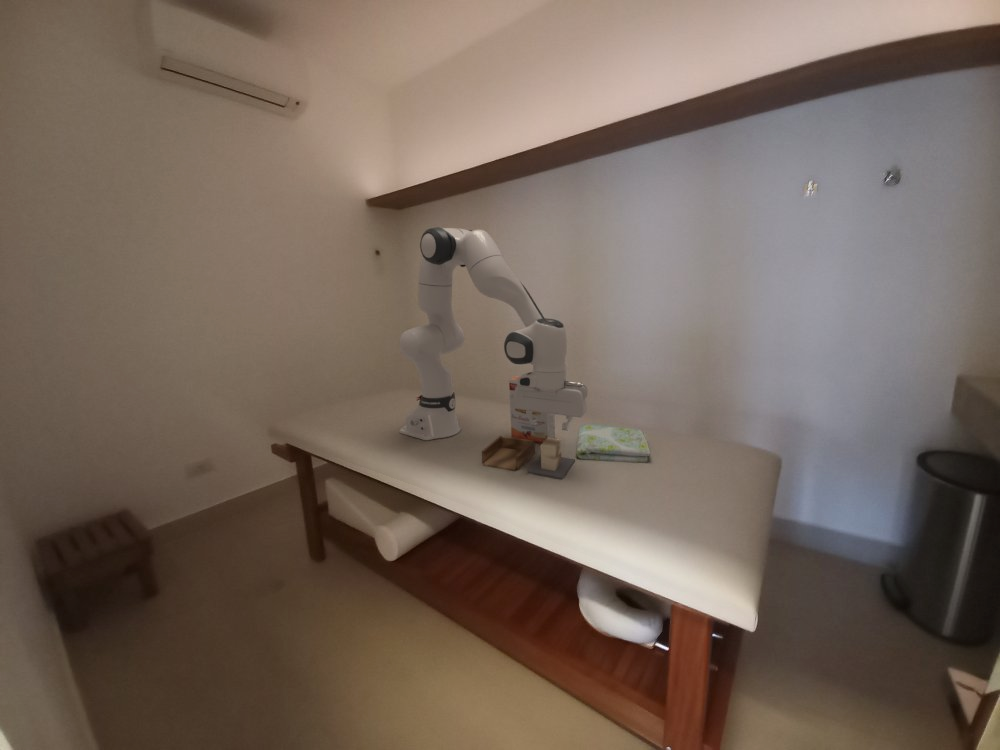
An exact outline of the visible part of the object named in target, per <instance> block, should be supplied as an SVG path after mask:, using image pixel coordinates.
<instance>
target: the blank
mask: <svg viewBox="0 0 1000 750" xmlns="http://www.w3.org/2000/svg"><path fill="white" fill-rule="evenodd" d="M540 457H541V469H547V470H553V471H555V470H556V469H557V467H558V466H559V465H560V463H561V462H562V458H561V457H562V438H556V437H555V438H547V439H546V440H545V441H544V442H543V443H540Z"/></svg>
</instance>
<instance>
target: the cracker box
mask: <svg viewBox="0 0 1000 750" xmlns="http://www.w3.org/2000/svg"><path fill="white" fill-rule="evenodd" d="M520 376H521V375H515V376H513V377H511V378H509V379H508V385H509V407H510V408H509V410H510V431H511V432H510V434H511V436H510V437H513V438H520V439H527V440H534V441H535V443H539V444H542V443H543V442H544V441H545V440H546V439H547V438H556V437H555V436H556V435H555V434H556V433H555V432H556V431H555V429H556V428H555V427H556V426H555V425H556V424H555V414H550V413H543V412H536V411H533V412H532V414H533V416H534V418H537V421H536V422H537V424H536V425H535V426H534V425H530V419H529V418H528V416H527V415H526V410H522V409H516V407H515V406H514V391H515V388H516V387H517V386H518V385H517V383H516V379H517V378H518V377H520Z"/></svg>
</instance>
